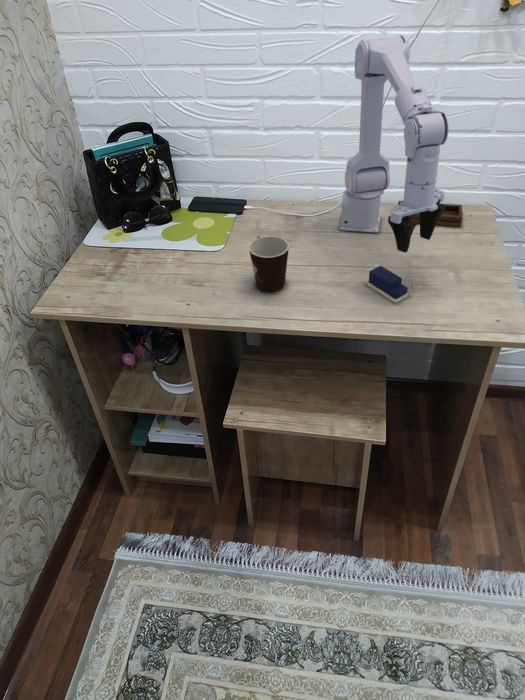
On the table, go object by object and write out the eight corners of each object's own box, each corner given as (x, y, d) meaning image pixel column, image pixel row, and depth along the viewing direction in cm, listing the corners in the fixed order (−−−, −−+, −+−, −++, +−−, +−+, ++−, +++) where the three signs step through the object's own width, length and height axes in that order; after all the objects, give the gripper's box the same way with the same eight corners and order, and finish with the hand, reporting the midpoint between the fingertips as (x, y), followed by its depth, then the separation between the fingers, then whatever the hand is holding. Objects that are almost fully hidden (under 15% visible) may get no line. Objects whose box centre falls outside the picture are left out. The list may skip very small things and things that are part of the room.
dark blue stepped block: (366, 285, 127) (368, 271, 125) (379, 278, 129) (380, 264, 126) (395, 303, 122) (397, 288, 119) (407, 296, 124) (409, 282, 121)
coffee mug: (288, 296, 126) (287, 257, 119) (249, 295, 127) (246, 257, 120) (292, 266, 134) (291, 229, 127) (255, 265, 135) (253, 228, 128)
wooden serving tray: (395, 222, 146) (396, 214, 145) (397, 207, 152) (398, 199, 150) (460, 227, 143) (462, 218, 141) (460, 212, 149) (461, 203, 147)
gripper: (414, 196, 103) (407, 263, 111) (460, 173, 110) (451, 238, 118) (383, 187, 107) (379, 251, 115) (430, 165, 115) (423, 228, 123)
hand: (413, 244), depth 117 cm, fingers open, 7 cm apart
